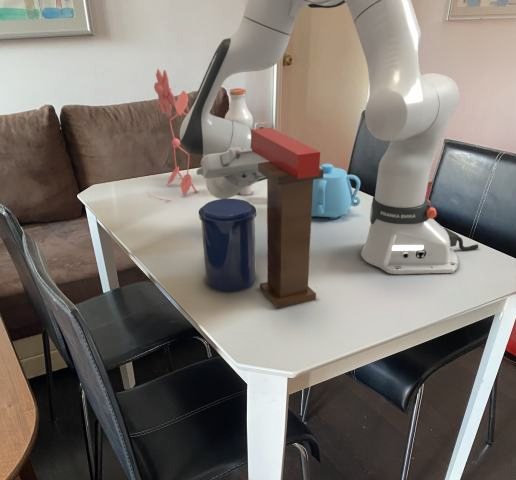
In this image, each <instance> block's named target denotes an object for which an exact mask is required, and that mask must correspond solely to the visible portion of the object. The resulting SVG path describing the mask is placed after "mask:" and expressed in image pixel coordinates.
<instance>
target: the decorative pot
mask: <svg viewBox="0 0 516 480" xmlns="http://www.w3.org/2000/svg"><path fill="white" fill-rule="evenodd" d="M319 168H321V169H323V170H324V173H323V178H321V179H315V180H313V195H312V215H311V218H314V217H320V218H321V217H323V218H329V219H330V220H337V219H338V218H339V217H341V216H344V215H346V214H347V212H348V211H349V210H350V208H351V207H358V206H359V205H360V204H361V199H360V197H359V196H357V195H358V194H359V193H358V192H359V190H360V187H361V180H360V178H359V177H358V176H357V175H354V174H348V172H347V171H346V170H345V169H343V168H340V167H334V165H333V164H332V163H323V164H321V166H319ZM351 180H353V181H355V182H356V186H355V189H354V191H353V189H352V183H351ZM355 201H356V202H355Z"/></svg>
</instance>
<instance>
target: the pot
mask: <svg viewBox="0 0 516 480" xmlns="http://www.w3.org/2000/svg"><path fill="white" fill-rule="evenodd" d="M256 217H257V208H256V207H255V205H253V204H251V203H250V202H248V201H246V200H243V199H239V198H227V199H219V198H218V199H215V200H211V201H208V202H207V203H205V204H204V205H202V207H200V208H199V210H198V219H199V221H201V222H200V223H201V235H202V246H203V247H202V248H203V257H204V258H203V259H204V270H205V282H206V285H207V286H208V287H209V288H211V289H213V290H214V291H218V292H223V293H237V292H241V291H244V290H248V289H249V288H252V286H254V285H255V283H256V281H257V277H256V275H257V272H256V270H257V269H256Z"/></svg>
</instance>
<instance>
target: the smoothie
mask: <svg viewBox="0 0 516 480" xmlns="http://www.w3.org/2000/svg"><path fill="white" fill-rule="evenodd" d="M252 190H253V184H251V185H250V186H246V187H245V188H244V189H242V190H241V191H240V192H239V195H241V196H249V195H252Z"/></svg>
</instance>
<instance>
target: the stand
mask: <svg viewBox="0 0 516 480" xmlns="http://www.w3.org/2000/svg"><path fill="white" fill-rule="evenodd" d="M258 172H260V173H261V174H263V175H264V176H266V177H267V179H266V182H267V183H266V188H267V189H266V190H267V191H266V193H267V194H266V196H267V197H266V200H267V201H266V202H267V204H266V206H267V209H266V211H267V212H266V213H267V214H266V218H267V219H266V220H267V221H266V224H267V227H266V228H267V230H266V232H267V233H266V235H267V237H266V238H267V245H266V246H267V252H266V253H267V254H266V255H267V258H266V259H267V281H265V282H260V283H259V291H260V292H261V293H262V294H263V295H264V297H266V298H267V300H268V301H269V302H270V303H271V304H272V305H273V306H274V307H275V308H276V309H277V310H279V309H283V308H287V307H291V306H295V305H299V304H304V303H307V302H312V301H315V300H316V299H317V292H315V291H314V290H313V289H312V288H311V287H310V286H309V275H310V273H309V270H310V254H311V253H310V251H311V235H312V234H311V233H312V232H311V230H312V217H311V215H312V195H313V180H315V179H321V178H323V173H324V170H323V169H321V168H319V176H313V177H306V178H300V179H297V178H296V177H294V176H292V175H291V174H289V173H287V172H286V171H284V170H282V169H281V168H279V167H277V166H276V165H274V164H273V163H271V162H265V163H258Z"/></svg>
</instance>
